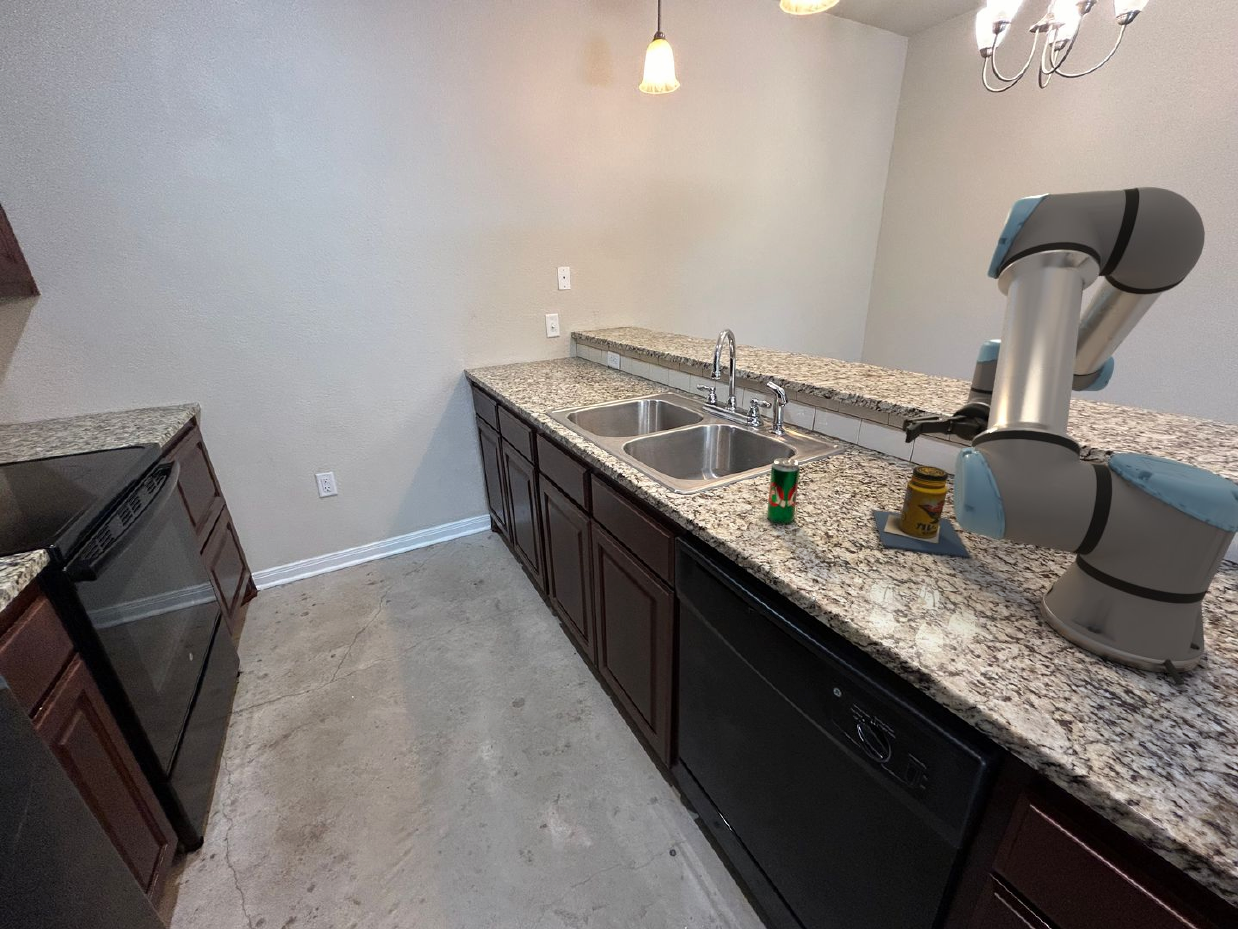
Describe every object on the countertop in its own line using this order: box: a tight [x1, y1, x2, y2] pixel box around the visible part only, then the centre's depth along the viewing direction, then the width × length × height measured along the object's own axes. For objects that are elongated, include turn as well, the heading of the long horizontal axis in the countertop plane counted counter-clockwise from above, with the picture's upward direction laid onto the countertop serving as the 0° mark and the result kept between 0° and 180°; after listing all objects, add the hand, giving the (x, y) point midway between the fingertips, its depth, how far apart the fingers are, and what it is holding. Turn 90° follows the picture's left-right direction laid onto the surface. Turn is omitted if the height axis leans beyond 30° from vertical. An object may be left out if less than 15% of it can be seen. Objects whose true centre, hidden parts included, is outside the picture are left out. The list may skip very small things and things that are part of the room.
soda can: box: [766, 457, 801, 525], centre depth 95 cm, size 5×5×12 cm
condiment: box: [884, 465, 949, 543], centre depth 89 cm, size 7×8×12 cm
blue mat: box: [872, 510, 971, 559], centre depth 91 cm, size 14×13×1 cm
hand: (948, 443), depth 92 cm, fingers open, 13 cm apart
